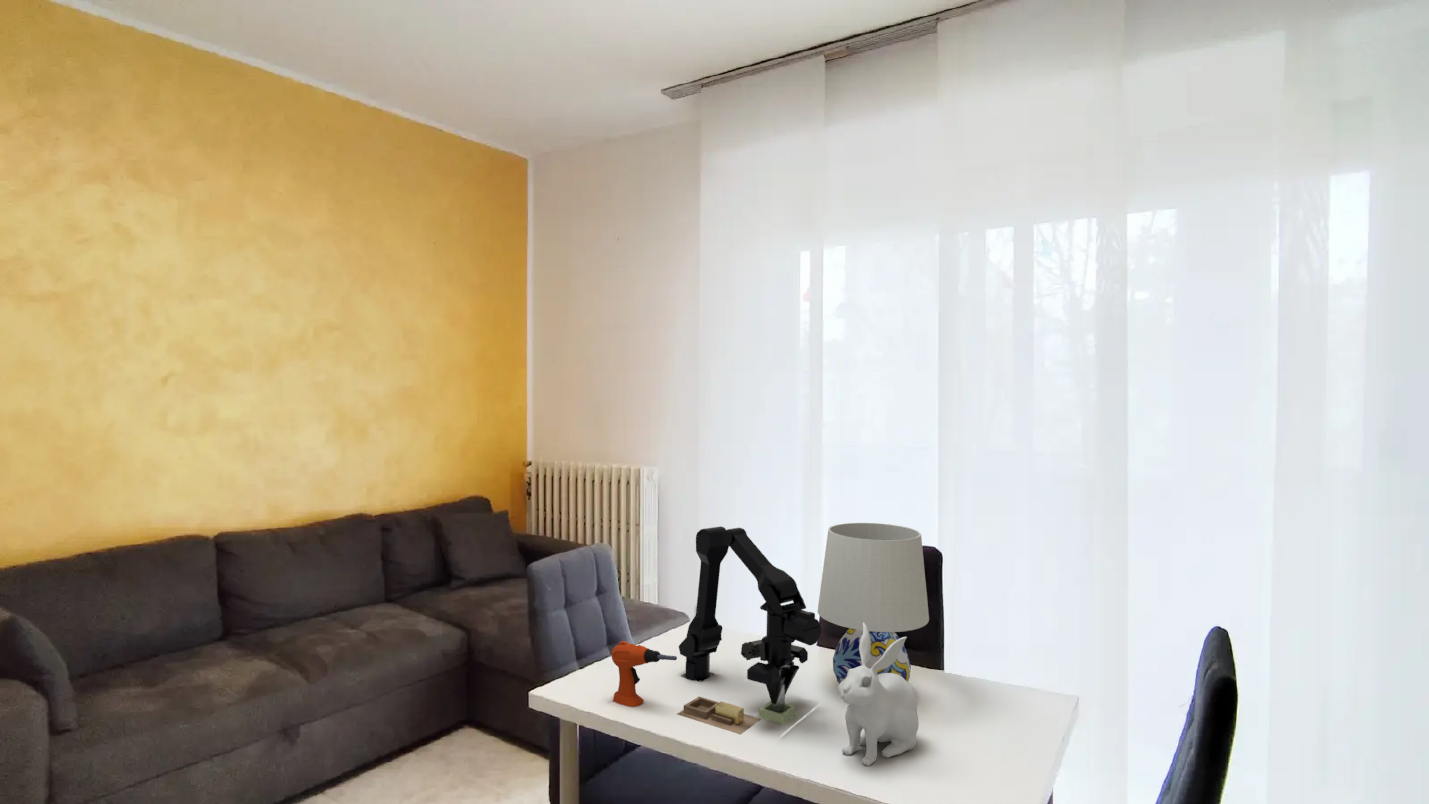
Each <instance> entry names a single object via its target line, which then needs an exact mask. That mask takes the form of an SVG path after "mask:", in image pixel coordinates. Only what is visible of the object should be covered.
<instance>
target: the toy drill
mask: <svg viewBox="0 0 1429 804" xmlns="http://www.w3.org/2000/svg"><path fill="white" fill-rule="evenodd" d="M610 653H611V659H612V662H613V663H614V665H615V666H616V667H618V674H619V677H618V678H619V683H618V688H617V689H618V690H617V691H615V692H614V693H613V694H614V695H613V698H612V702H614V703H616V704H619V705H621V706H624V707H630V708H636V707H640V706H642V705H643V704H644V702H645V700H644V699H643V697H641V696H639V694H637V691H636V685H637V684H638V683H639V681H641V678H640V677H639V676H638V673H637V670H636V669H635V667H637V666H638V667H639V666H642V665H646V664H649V663H658V662H659V661H660V660H661V661H662V660H666V661H676V660H677V659H678V657H677V656H676V655H666V654H663V653H662V654H661V653H660V652H659V651H658V650H653V649H650V648H647V647H646V646H645V645H641V644H638V645H636V644H634V643H629V642H627V641H625V640H622V641H619V642H618V644H617V645H615V646H614V647H613V648H612V650H611V652H610Z"/></svg>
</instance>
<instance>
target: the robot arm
mask: <svg viewBox="0 0 1429 804" xmlns="http://www.w3.org/2000/svg"><path fill="white" fill-rule="evenodd" d="M729 548H730V549H731V550H732V551H733V552H734V553H735V555H736V556H737V557H738V559H740V561H741V562H742V563H743V564H744V566H745V568H747V569H748V571H749V572H750V573H751V574H752V576H753V577H754V578H755V580H756V581H757V590H758V592H759V593H760V595H761V596H762V598H763V600H764V601H765V602H764V603H763V604H762V605H760V606H759V609H760V610H762V611H765V612H766V635H765V636H763V637H762V638H761V639H758V640H753V641H748V642H747V641H746V642H744V643H742V644H741V647H740V648H741V650H740V655H741V656H742V658H744V659H745V660H746V661H750V660H751V659H752V660H753V659H758V658H760V660H759V661H757V662H756V663H754V664H753V665H751V666H749V668H748V669H746V678H747V680H749V681H753V682H756V683H760V684H763V685H765V686H766V688H767V692H768V695H769V699H770V701H771V702H772V703H773V704H776V703H777V701H778V698H779V695H780V692H781V689H782V686H783V683H785V695H786V694H787V693H788V690H789V688H790V686H791V683H792V682H793V680H794V678H795V677H796V676H795V675H796V674H797V673H798V671H799V669H800V666H799V665H796V664H795V662H794V660H795V658H796V659H798V661H799V662H800V664H804V663H806V662H807V661H808V660H809V657H808V656H809V652H808V651H807V649H806V648H805V647H802V646H799V645H795V644H793V643H794V642H795V641H797V642H800V643H801V644H805V645H807V646H813V645H816V644H817V643H818V642H819V639H820V637H821V634H822V627H821V622H819V620H818V619H817V618H816V614H815V612H812V611H806V610H805V609H807V606H806V603H805V601H804V599H803V597H802V595H801V593H800V590H799V588H798V584H797V582H796V581H795V579H794V578H793V577H792V576H791V575H790V574H788V573H787V572H786V571H785V570H782V569H780V568H778V567H776V566H775V565H773V564H772V563H771V561H770V560H769V559H768V558H767V557H766V555H765V554H763V552H762V551H761V550H760V548H759V547H758V546H757V545H756V544H755V543H754V542H753V540H751V538H750V537H749V536H748V534H747V531H746V530H745V529H744V528H742V527H735V528H733V527H732V528H728V529H727V528H725V527H724V526H715V527H708V528H702V529H700V530H698V531H697V533H696V535H695V552H696V554H697V555H698V558H699V560H700V566H699V568H700V570H699V579H698V587H697V588H698V589H697V600H696V610H695V611H696V612H695V616H694V617H693V619H692V620H691V621H690V623H689V624H688V629H687V631H686V632H687V633H686V637H685V638H684V640H682V642H681V643H680V644H679V645H678V650H679V654H680V655H681V656H683V657H685V673H683V674H680V675H681V676H680V677H682V678H685V679H687V680H688V679H689V680H691V681H696V682H699V683H700V682H704V681H705V680H707V679H710V678H711V677H712V676H714V675H715V673H714V672H711V671H710V668H711V667H710V666H711V665H710V662H711V661H710V660H711V657H710V656H711V654H713V653H716V652H717V650H718V646H720V644H721V643H720V641H722V640H723V638H722V633H723V626H722V624H719V622H718V620H717V619H716V614H717V612H716V611H717V600H718V591H719V582H720V572H721V563H722V562H723V560H724V558H725V557H726V555H727V554H728V551H729ZM786 603H788V604H786ZM760 661H762V662H760ZM764 662H767V663H764ZM781 675H782V676H781Z"/></svg>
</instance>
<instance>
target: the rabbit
mask: <svg viewBox="0 0 1429 804" xmlns="http://www.w3.org/2000/svg"><path fill="white" fill-rule="evenodd" d="M906 639H908V637H907V636H903V637H899V639H898V640H896V641H895V642H893V643H892V644H891V645H890V646H889V647H888V648H887V649H886V651H885V652H884V654H883V656H882V657H881V658H880V659H879V661H877V662H876V663H875V664H874V665H873V666H872V668H871V669H869V668H868V667H866V663H867V662H868V661H869V659H870V650H871V639H870V635H869V632H868V628H867V626H866V624H865V623H864V622H863V634H862V637H861V640H860V644H859V652H860V656H861V661H862V665H861V666H859V667H856V668H853V669H849V671H848V673H847V677H846V679H845V680H843V681H842V682H841V683H840V684H839V683H838V686H837V691H838V697H839V698H840V700H842V701H843V703H845V704H847V705H848V706H847V708H846V711H845V716H844V717H845V719H844V720H845V725H846V729H847V734H848V736H849V737H848V738H849V745H848V746H845V747H843V748H842V749H841V751H842V753H843V754H844V755H845V756H851V755H852V754H854V753H855V752H857V750H858V749H859V746H860V745H861V746H866V752H865V755H864V757H863V758H862V759H861V764H863V765H864V766H867V767H869V766H871V765H872V764H873V763H874V762H875V761H876V759H877V757H878V743H885V742H890V744H888V745H887V746H886V747H884V748H883V749H882V751H881V755H882V757H885V758H891V757H894V756H899V755H901V754H903V753H904V752H908V751H911V750H912V749H914V748H915V746H916V743H917V734H918V730H919V725H920V724H919V714H918V700H917V694H916V692H915V690H914V688H913V686H912V685H911V684H910V683H909V681H908V682H907V681H906V680H905V679H904V678H902V677H901V676H900V675H897V674H894V673H883V674H879V675H877V672H878V670H880V669H886V668H888V667H889V666H890V665H891V664H893V663H894V662H895V660H896V658H897V656H898V654H899V652H900V650H901V648H902V647H903V645H904V646H905V642H906ZM862 730H864V733H863V734H862V735H861V733H862Z"/></svg>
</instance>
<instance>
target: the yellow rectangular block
mask: <svg viewBox="0 0 1429 804" xmlns="http://www.w3.org/2000/svg"><path fill="white" fill-rule="evenodd" d="M744 709H745V708H744V707H742V706H739V705H738V706H737V705H735V704H731V703H729V702H725V701H719V703H718V704H716V705H715V715H718V716H722V717H725V718H728V719H731V720H732V723H734V724H739V723H741V722H742V721H744V714H745V711H744Z"/></svg>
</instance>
